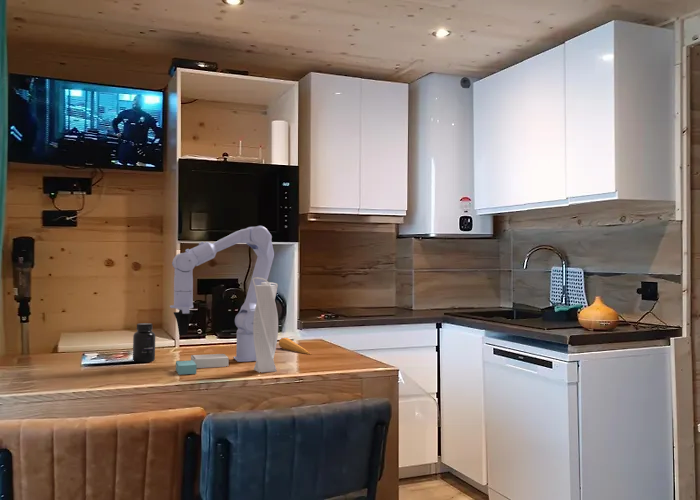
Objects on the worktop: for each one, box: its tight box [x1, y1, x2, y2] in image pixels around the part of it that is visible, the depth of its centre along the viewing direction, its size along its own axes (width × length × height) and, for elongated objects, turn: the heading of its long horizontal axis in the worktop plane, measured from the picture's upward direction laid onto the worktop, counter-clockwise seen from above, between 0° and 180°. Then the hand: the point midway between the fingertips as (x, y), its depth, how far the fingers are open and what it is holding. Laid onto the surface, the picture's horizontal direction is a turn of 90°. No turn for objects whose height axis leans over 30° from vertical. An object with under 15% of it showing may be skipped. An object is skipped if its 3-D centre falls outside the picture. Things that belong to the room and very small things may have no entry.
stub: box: [175, 359, 197, 376], centre depth 182 cm, size 5×8×2 cm, turn 21°
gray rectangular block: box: [190, 353, 229, 369], centre depth 194 cm, size 10×8×3 cm
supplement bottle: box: [132, 322, 156, 363], centre depth 200 cm, size 7×7×12 cm
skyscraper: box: [251, 277, 279, 373], centre depth 186 cm, size 8×8×28 cm
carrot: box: [278, 337, 313, 355], centre depth 223 cm, size 20×4×4 cm, turn 38°
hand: (183, 334), depth 195 cm, fingers closed
